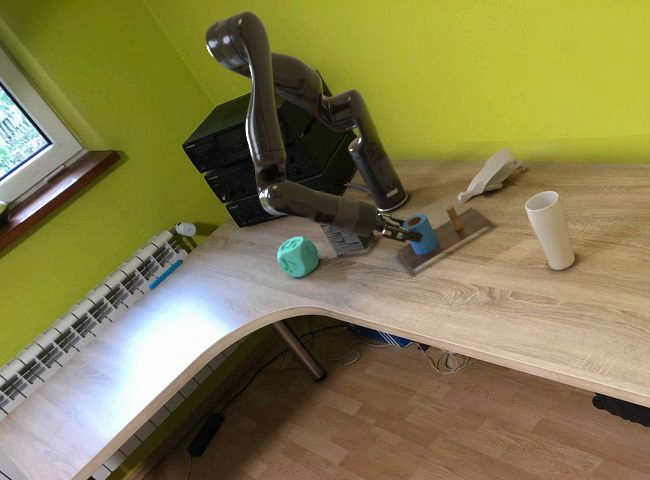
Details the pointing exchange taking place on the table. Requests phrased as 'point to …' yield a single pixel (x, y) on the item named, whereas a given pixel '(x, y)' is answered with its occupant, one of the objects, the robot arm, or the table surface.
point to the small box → (346, 240)
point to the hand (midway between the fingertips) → (415, 232)
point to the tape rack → (447, 235)
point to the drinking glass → (551, 228)
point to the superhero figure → (491, 174)
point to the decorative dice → (298, 256)
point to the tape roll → (422, 226)
